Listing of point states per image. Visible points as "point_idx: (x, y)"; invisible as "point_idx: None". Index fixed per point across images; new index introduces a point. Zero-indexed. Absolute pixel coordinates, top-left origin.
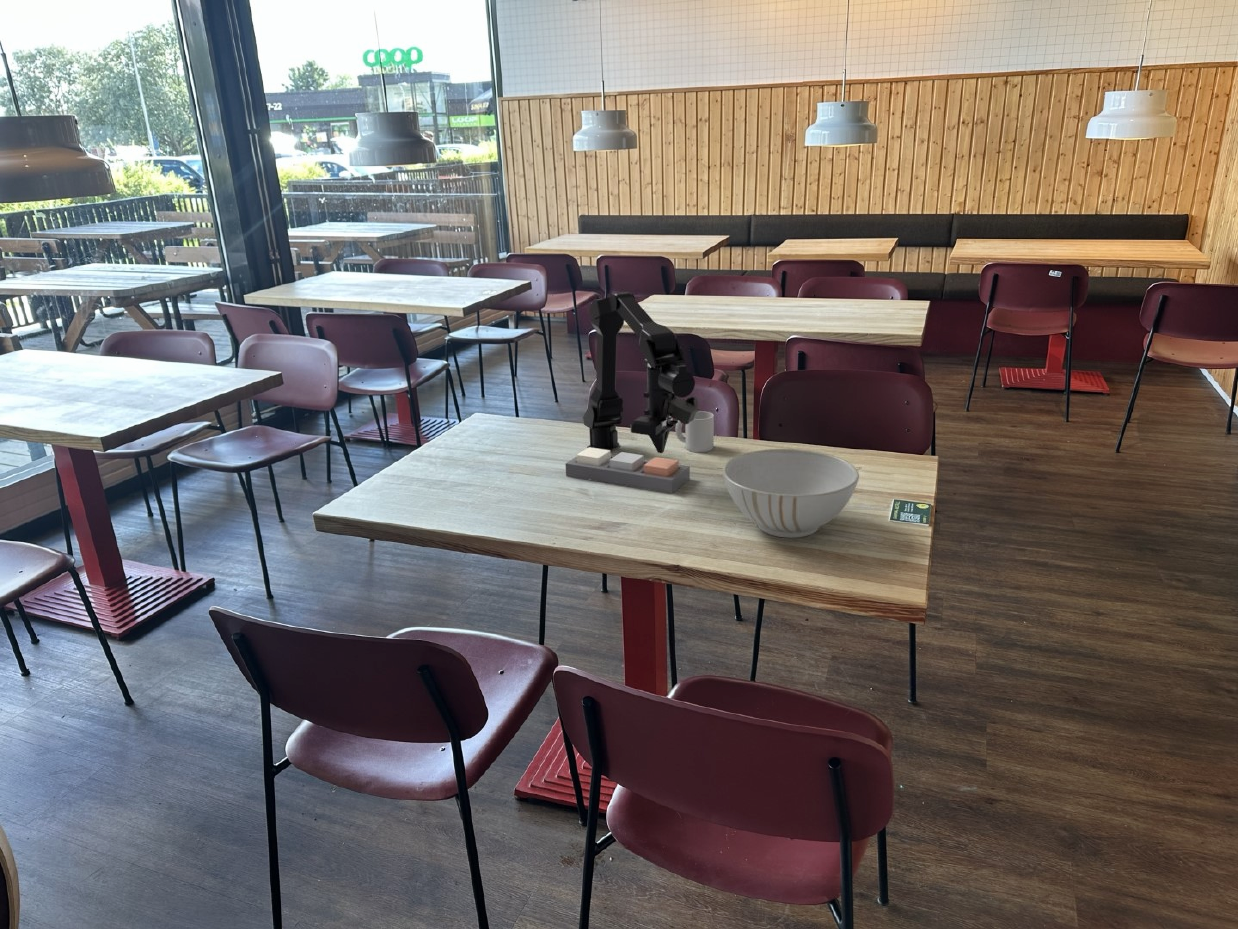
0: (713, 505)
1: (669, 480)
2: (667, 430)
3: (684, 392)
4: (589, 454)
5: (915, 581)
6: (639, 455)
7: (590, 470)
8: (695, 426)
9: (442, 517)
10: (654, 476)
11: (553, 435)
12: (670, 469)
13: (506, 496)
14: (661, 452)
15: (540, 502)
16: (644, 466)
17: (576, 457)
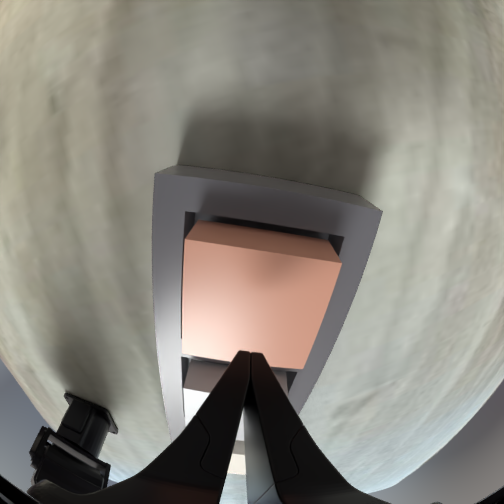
0: (420, 37)
1: (377, 222)
2: (219, 494)
3: None
4: (238, 466)
5: None
6: (191, 398)
7: None
8: None
9: (422, 453)
10: (341, 298)
11: (104, 452)
12: (299, 249)
13: (369, 454)
14: (264, 358)
15: (399, 425)
16: (303, 362)
17: None
